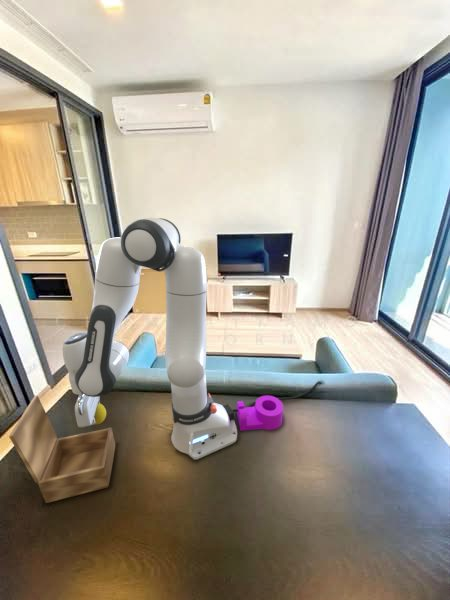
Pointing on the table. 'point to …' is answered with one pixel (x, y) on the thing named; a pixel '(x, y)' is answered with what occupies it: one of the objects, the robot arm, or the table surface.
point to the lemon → (100, 413)
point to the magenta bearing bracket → (260, 414)
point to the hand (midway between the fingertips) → (95, 414)
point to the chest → (78, 465)
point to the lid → (34, 438)
